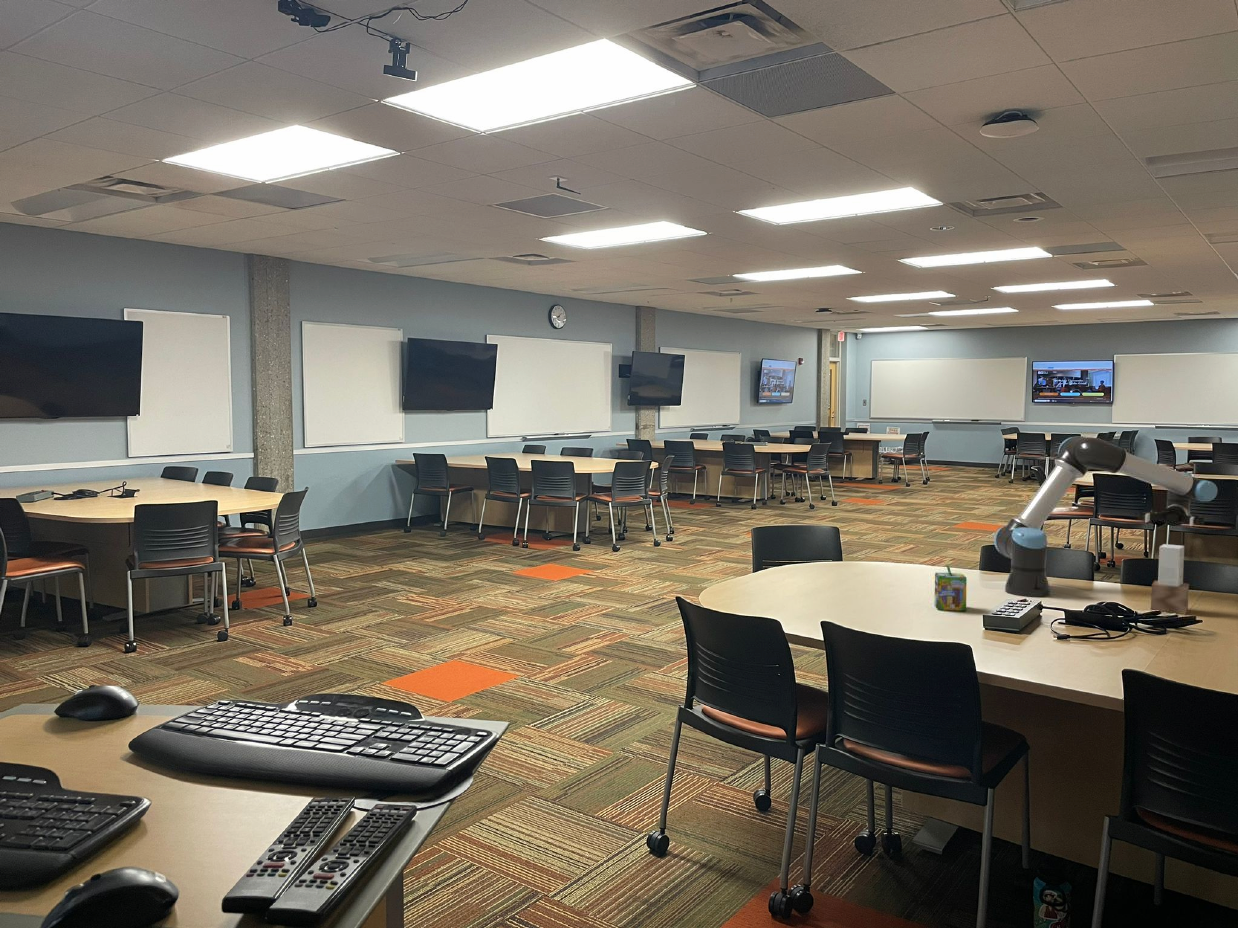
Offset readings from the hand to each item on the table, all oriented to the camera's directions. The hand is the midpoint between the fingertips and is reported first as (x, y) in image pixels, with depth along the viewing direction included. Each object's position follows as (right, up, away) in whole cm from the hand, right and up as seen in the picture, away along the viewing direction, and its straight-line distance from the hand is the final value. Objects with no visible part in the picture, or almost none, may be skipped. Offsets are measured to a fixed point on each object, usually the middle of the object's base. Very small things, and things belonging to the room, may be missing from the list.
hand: (1168, 520), depth 319 cm
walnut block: (-7, -30, -12) cm, 33 cm away
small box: (-7, -21, -13) cm, 26 cm away
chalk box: (-82, -29, -12) cm, 87 cm away
